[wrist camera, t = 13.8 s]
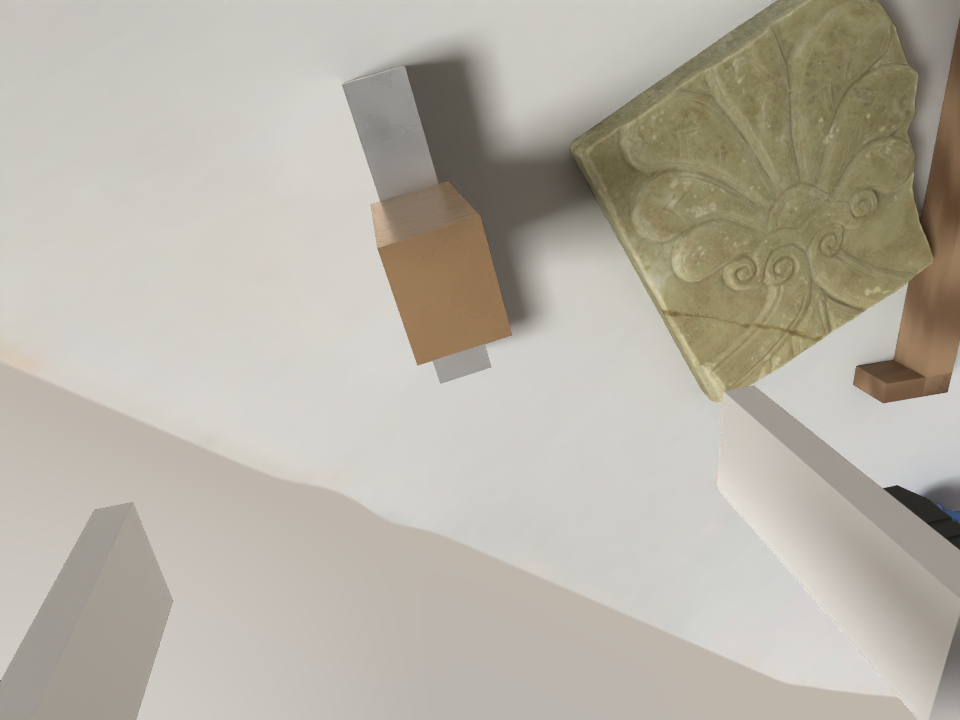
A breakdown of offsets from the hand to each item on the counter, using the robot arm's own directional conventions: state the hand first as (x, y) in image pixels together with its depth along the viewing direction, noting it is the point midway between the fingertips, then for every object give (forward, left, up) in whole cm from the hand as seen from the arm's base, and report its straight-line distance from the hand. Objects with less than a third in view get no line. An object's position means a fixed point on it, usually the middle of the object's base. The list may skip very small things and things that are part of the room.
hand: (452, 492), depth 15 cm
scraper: (-1, +2, -26) cm, 26 cm away
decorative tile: (0, +23, -26) cm, 35 cm away
